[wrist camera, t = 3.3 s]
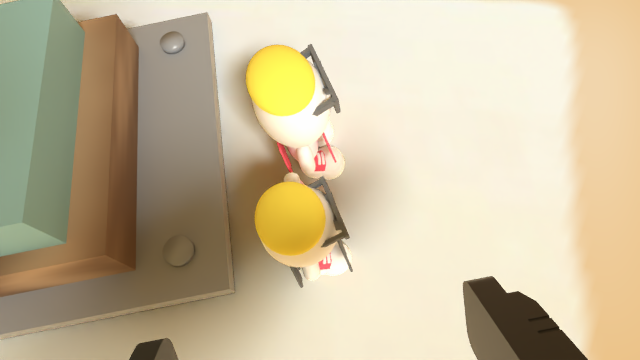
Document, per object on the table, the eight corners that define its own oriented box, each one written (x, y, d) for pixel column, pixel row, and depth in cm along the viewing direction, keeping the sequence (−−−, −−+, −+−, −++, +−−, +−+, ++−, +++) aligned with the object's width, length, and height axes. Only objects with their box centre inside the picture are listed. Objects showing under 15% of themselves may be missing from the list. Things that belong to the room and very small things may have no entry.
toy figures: (360, 290, 23) (356, 243, 15) (277, 298, 23) (234, 256, 16) (338, 102, 28) (328, -2, 20) (271, 110, 28) (236, 11, 21)
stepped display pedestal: (-162, 371, 24) (-354, 366, 17) (-78, 82, 32) (-185, 9, 26) (234, 292, 23) (185, 258, 17) (211, 22, 32) (173, -66, 26)
